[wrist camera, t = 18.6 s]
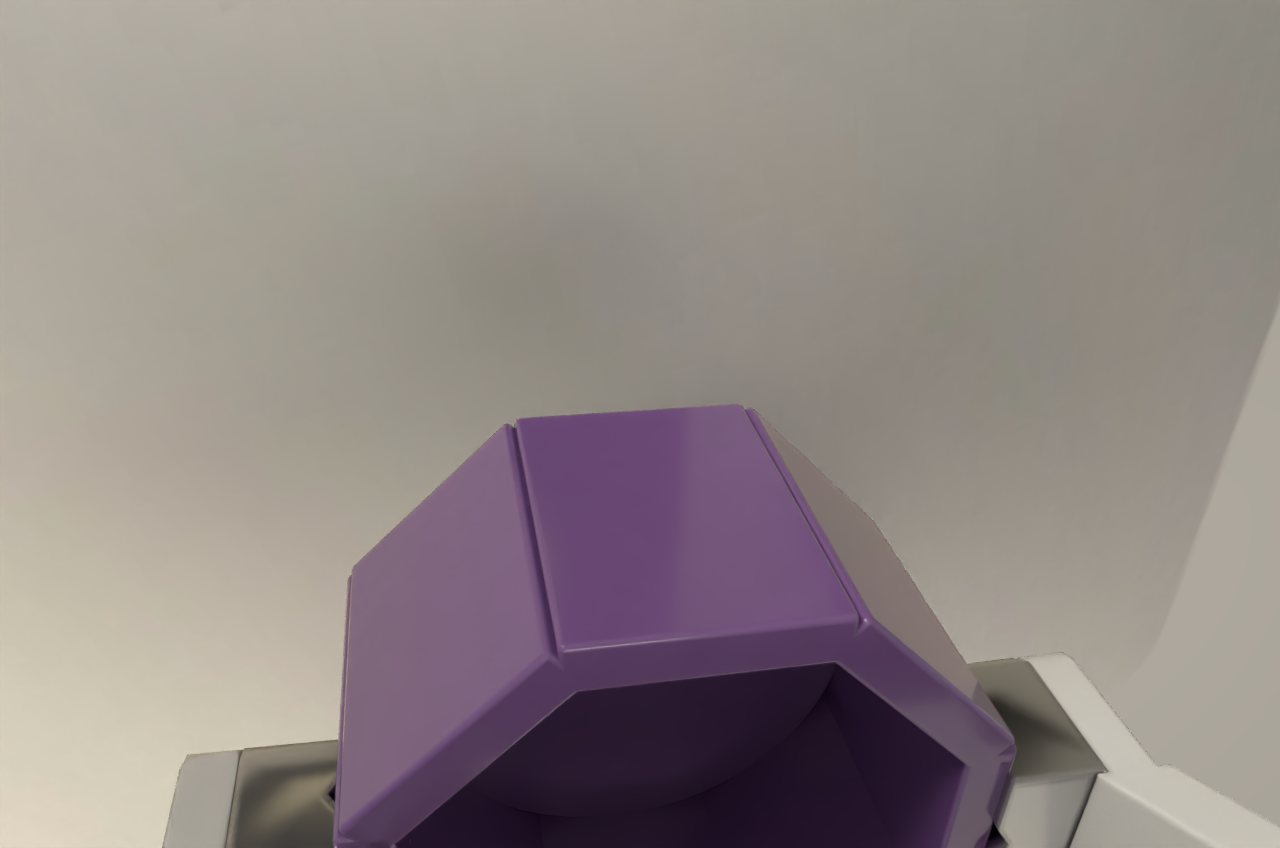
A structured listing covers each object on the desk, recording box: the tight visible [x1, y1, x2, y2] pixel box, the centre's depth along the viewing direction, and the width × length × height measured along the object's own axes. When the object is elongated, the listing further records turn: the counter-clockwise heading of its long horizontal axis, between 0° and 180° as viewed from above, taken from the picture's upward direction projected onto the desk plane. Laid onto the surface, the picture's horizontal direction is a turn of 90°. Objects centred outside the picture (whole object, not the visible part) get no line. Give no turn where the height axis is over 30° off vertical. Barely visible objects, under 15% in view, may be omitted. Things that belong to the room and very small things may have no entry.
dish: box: [332, 404, 1017, 848], centre depth 11 cm, size 6×6×3 cm
